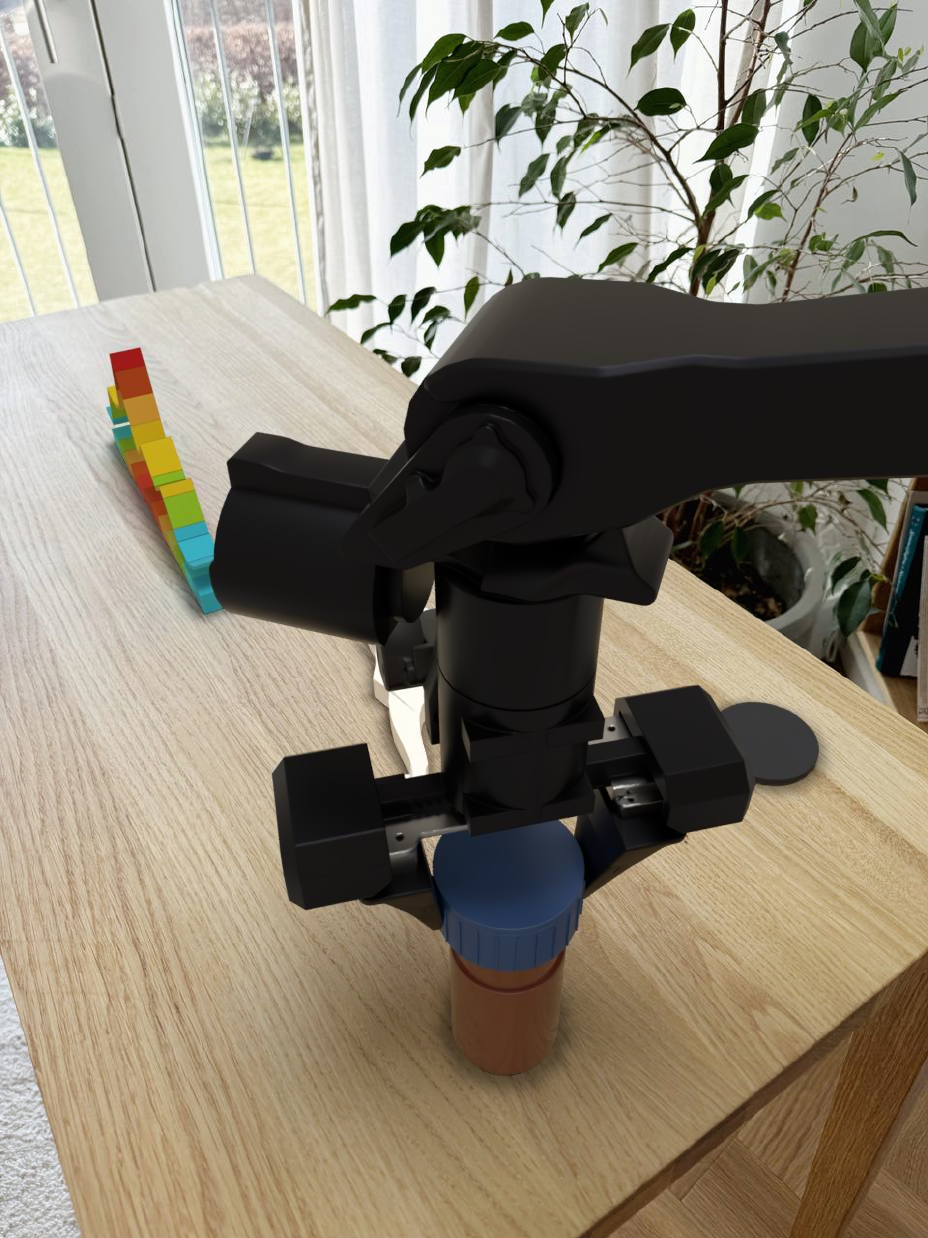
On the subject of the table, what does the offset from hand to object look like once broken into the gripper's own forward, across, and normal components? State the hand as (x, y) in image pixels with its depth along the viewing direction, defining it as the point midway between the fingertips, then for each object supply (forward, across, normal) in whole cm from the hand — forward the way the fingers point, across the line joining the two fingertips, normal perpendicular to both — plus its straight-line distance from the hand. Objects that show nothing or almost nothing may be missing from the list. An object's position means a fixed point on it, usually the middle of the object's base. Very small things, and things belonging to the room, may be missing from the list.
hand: (507, 906), depth 45 cm
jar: (+11, 0, 0) cm, 11 cm away
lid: (0, 0, 0) cm, 0 cm away
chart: (+11, +17, -53) cm, 57 cm away
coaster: (+11, -22, -15) cm, 29 cm away
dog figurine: (+11, +1, -26) cm, 28 cm away
